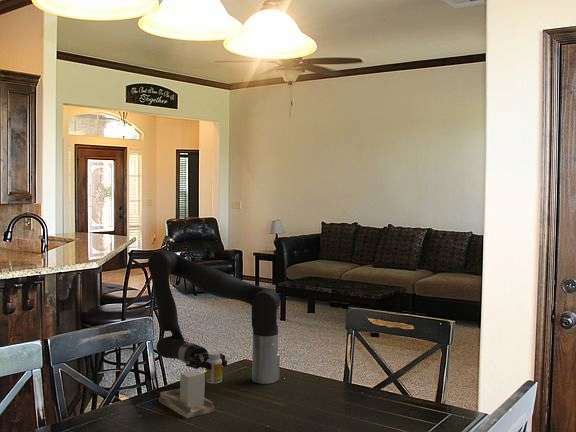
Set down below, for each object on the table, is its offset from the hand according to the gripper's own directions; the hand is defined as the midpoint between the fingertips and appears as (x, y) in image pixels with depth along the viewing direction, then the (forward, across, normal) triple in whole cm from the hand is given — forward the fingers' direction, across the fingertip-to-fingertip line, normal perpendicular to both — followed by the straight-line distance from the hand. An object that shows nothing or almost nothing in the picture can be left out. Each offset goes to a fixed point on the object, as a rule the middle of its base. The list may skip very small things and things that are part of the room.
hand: (218, 365), depth 207 cm
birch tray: (+2, -13, +10) cm, 17 cm away
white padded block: (+6, -13, +9) cm, 17 cm away
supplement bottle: (-3, 0, +6) cm, 7 cm away
